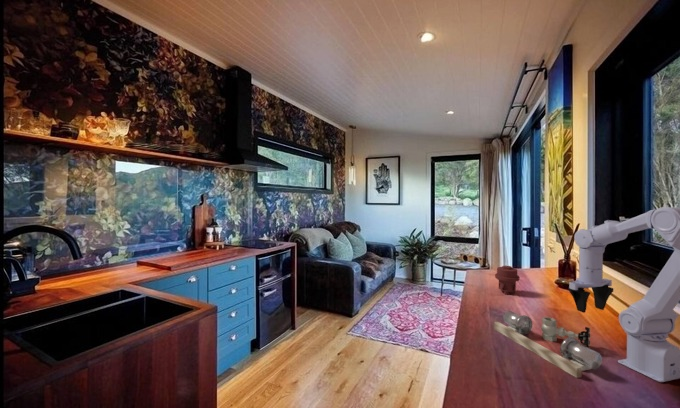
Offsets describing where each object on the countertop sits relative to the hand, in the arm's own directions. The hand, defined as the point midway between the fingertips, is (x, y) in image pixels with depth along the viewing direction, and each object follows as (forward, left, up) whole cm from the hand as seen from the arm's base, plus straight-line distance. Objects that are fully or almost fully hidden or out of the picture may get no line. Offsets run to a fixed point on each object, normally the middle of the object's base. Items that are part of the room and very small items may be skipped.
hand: (590, 310), depth 96 cm
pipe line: (0, +18, -9) cm, 20 cm away
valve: (0, +10, -10) cm, 14 cm away
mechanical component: (+45, -9, -10) cm, 47 cm away
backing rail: (0, +23, -9) cm, 25 cm away
